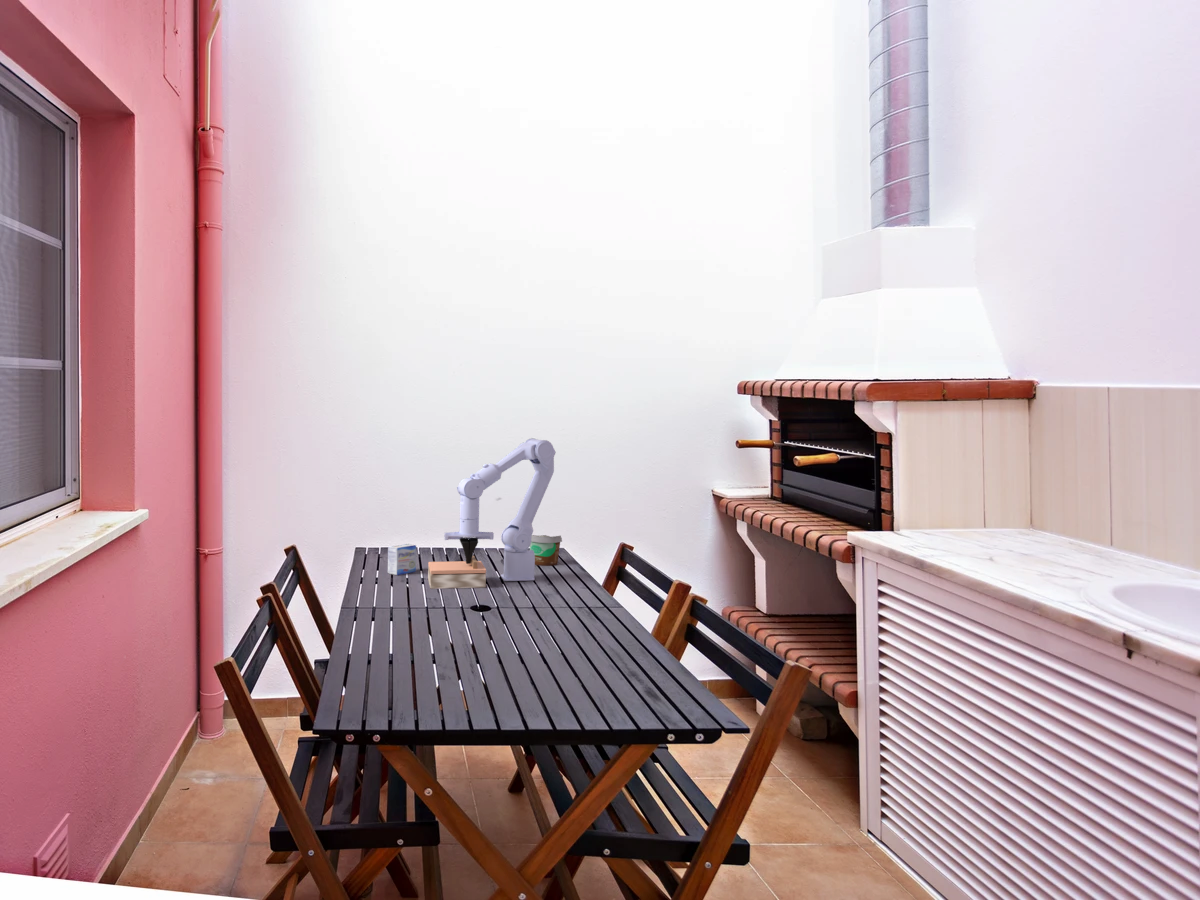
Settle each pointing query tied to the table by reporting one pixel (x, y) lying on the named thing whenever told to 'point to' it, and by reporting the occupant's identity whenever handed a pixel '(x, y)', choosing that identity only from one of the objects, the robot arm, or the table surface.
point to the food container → (545, 549)
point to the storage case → (456, 580)
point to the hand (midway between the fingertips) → (468, 563)
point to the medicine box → (402, 559)
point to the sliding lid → (456, 567)
